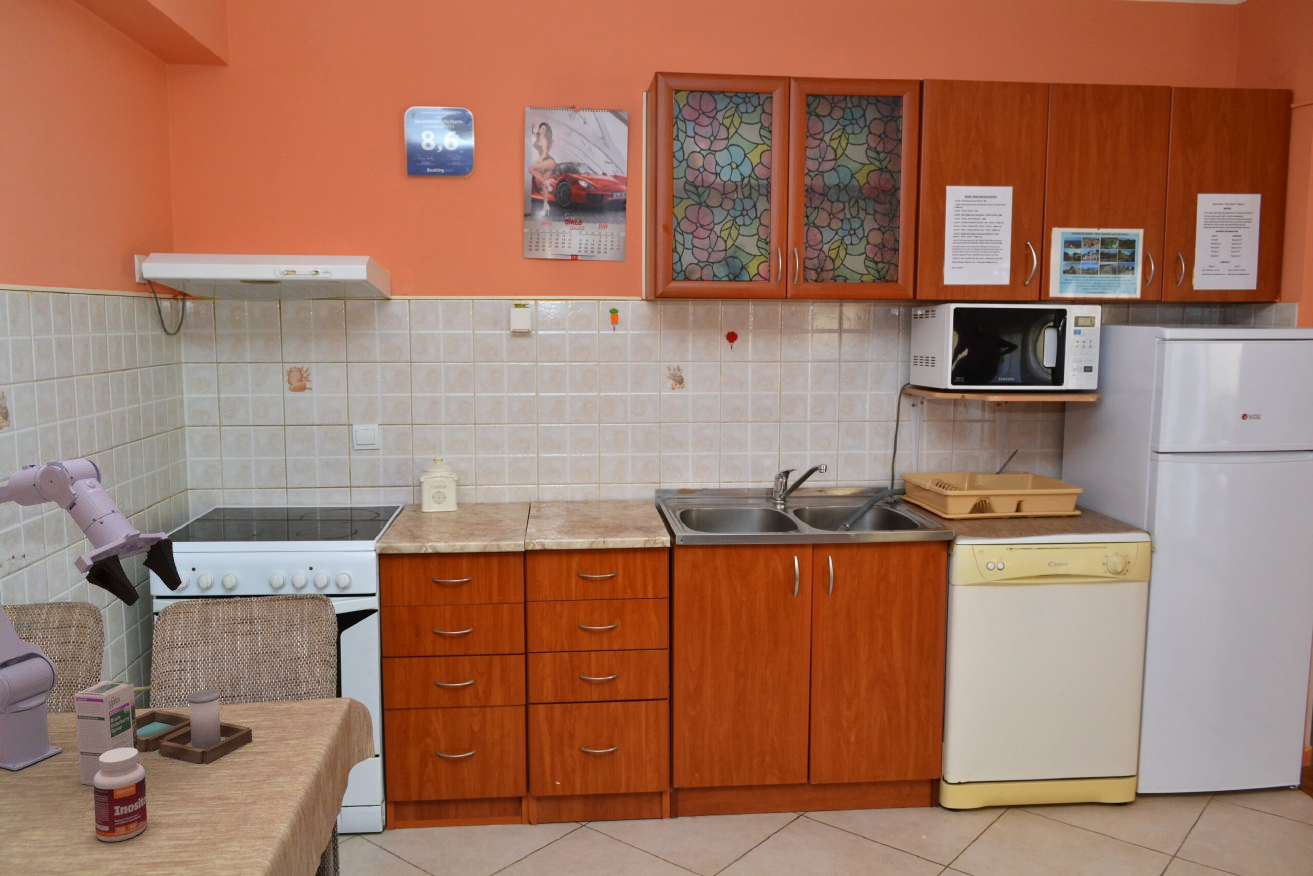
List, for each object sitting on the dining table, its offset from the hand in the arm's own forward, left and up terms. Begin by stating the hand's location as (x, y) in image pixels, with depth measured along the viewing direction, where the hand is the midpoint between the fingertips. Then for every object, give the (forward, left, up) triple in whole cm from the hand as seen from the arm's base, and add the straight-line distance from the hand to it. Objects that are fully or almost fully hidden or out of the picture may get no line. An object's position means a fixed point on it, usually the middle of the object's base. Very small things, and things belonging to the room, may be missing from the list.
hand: (156, 594), depth 142 cm
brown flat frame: (-11, +12, -29) cm, 34 cm away
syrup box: (-9, -2, -30) cm, 31 cm away
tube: (-5, +12, -29) cm, 32 cm away
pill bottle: (+6, -13, -30) cm, 33 cm away
